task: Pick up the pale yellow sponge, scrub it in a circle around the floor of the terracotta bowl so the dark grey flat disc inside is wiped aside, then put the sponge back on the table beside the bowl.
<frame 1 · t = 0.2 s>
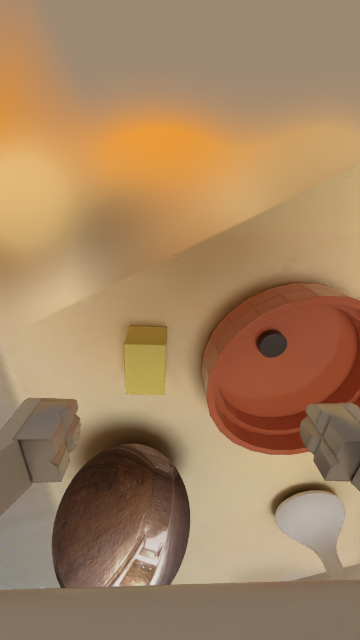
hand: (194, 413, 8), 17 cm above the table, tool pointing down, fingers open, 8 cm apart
wooden sphere: (134, 454, 34), on the table
dark grey flat disc: (269, 341, 26), point 1 cm above the table, touching bowl
flower in vase: (305, 498, 41), on the table
bowl: (282, 360, 28), on the table
sponge: (148, 349, 27), on the table
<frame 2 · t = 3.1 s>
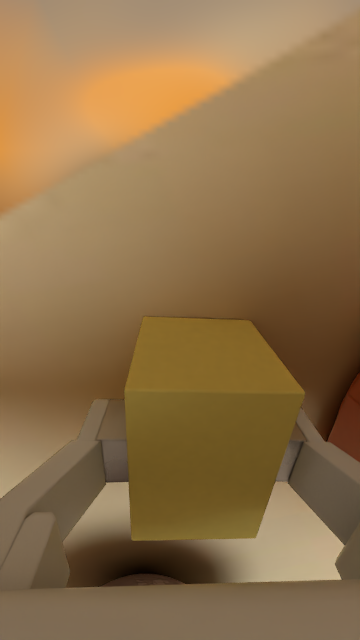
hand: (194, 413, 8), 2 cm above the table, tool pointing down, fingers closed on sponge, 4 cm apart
wooden sphere: (145, 578, 17), on the table
sponge: (191, 382, 10), on the table, touching gripper
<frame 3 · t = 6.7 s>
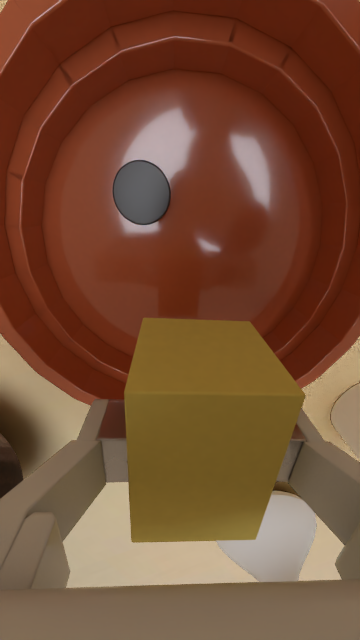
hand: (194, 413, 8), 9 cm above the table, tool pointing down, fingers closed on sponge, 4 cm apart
dark grey flat disc: (143, 195, 13), point 1 cm above the table, touching bowl
flower in vase: (261, 502, 28), on the table
bowl: (184, 251, 15), on the table
sponge: (191, 384, 10), point 8 cm above the table, touching gripper
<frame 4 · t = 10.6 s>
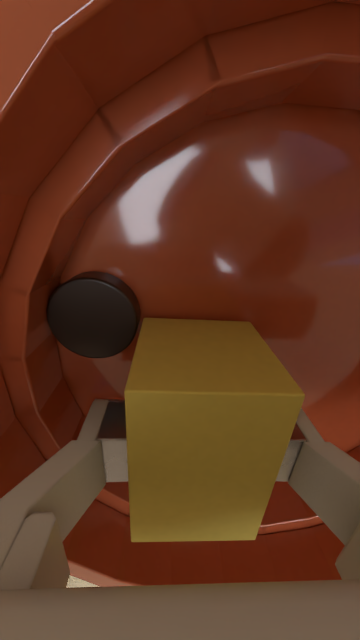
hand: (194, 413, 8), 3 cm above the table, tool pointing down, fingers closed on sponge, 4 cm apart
dark grey flat disc: (100, 310, 9), point 1 cm above the table, touching bowl
bowl: (254, 348, 11), on the table
sponge: (191, 384, 10), point 1 cm above the table, touching gripper
when the fingers open (1 cm above the table, at t = 17.6 s): sponge stays where it is, on the table.
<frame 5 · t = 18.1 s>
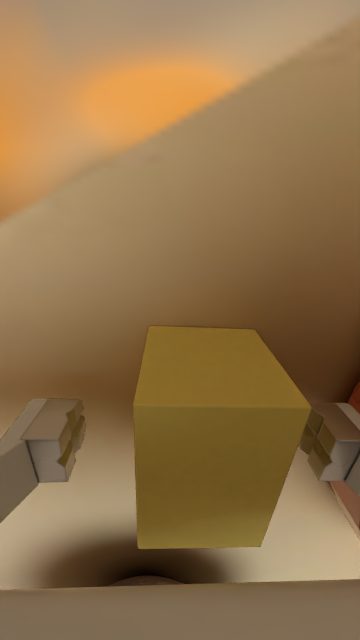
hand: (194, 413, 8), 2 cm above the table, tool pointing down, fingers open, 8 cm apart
wooden sphere: (147, 579, 17), on the table
sponge: (195, 390, 10), on the table
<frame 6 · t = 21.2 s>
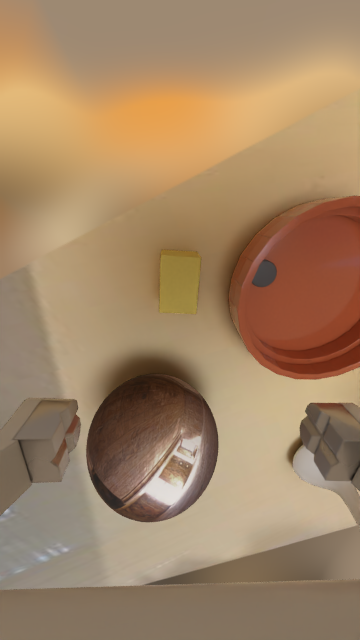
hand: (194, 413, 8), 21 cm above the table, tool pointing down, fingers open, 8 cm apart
wooden sphere: (157, 393, 35), on the table
dark grey flat disc: (260, 272, 27), point 1 cm above the table, touching bowl
flower in vase: (322, 446, 41), on the table
bowl: (306, 289, 29), on the table
sponge: (178, 276, 28), on the table
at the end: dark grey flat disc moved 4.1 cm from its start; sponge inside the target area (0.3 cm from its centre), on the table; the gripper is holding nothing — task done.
